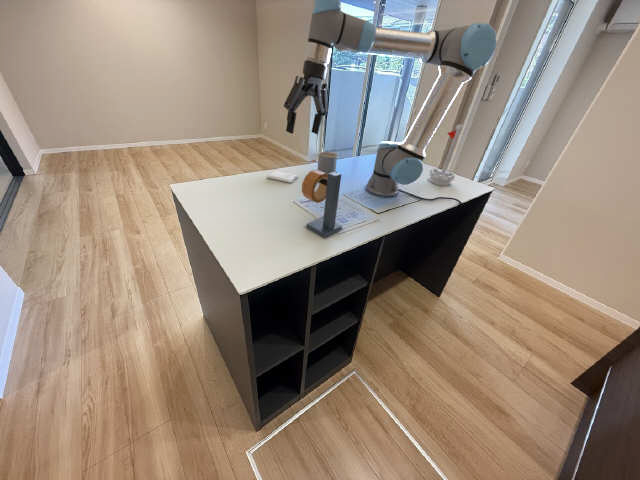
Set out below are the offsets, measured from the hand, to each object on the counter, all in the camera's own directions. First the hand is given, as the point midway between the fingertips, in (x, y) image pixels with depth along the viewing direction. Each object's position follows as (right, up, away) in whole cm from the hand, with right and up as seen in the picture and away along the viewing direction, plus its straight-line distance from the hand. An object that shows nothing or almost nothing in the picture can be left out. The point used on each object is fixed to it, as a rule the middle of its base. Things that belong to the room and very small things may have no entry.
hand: (302, 132), depth 90 cm
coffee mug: (+11, 0, +51) cm, 52 cm away
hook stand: (+6, -33, +2) cm, 34 cm away
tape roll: (+5, -20, -5) cm, 21 cm away
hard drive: (-13, -7, +37) cm, 40 cm away
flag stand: (+74, -6, +52) cm, 90 cm away
